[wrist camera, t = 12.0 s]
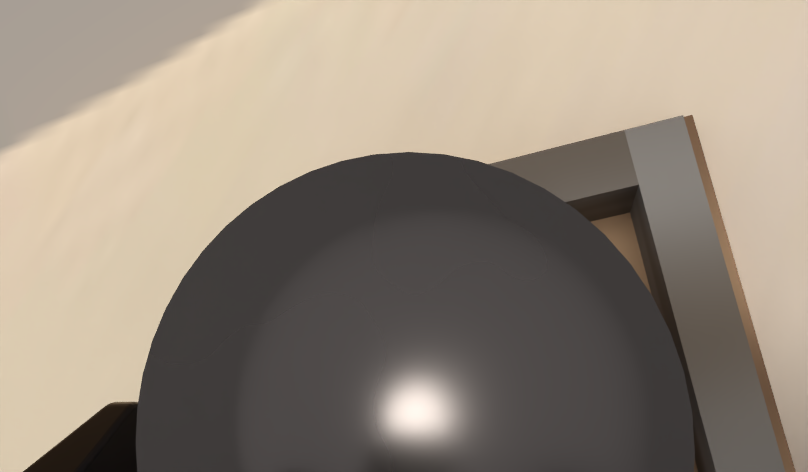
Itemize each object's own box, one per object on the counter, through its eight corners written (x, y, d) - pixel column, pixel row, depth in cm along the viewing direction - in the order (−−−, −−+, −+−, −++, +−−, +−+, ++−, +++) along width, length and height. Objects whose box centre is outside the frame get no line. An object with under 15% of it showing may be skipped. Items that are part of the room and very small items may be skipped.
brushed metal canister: (568, 517, 18) (538, 877, 5) (398, 428, 19) (49, 548, 7) (647, 341, 18) (795, 288, 6) (474, 263, 19) (278, 77, 7)
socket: (821, 583, 17) (883, 639, 14) (353, 648, 19) (301, 711, 16) (688, 122, 19) (712, 69, 16) (282, 224, 21) (225, 196, 18)
